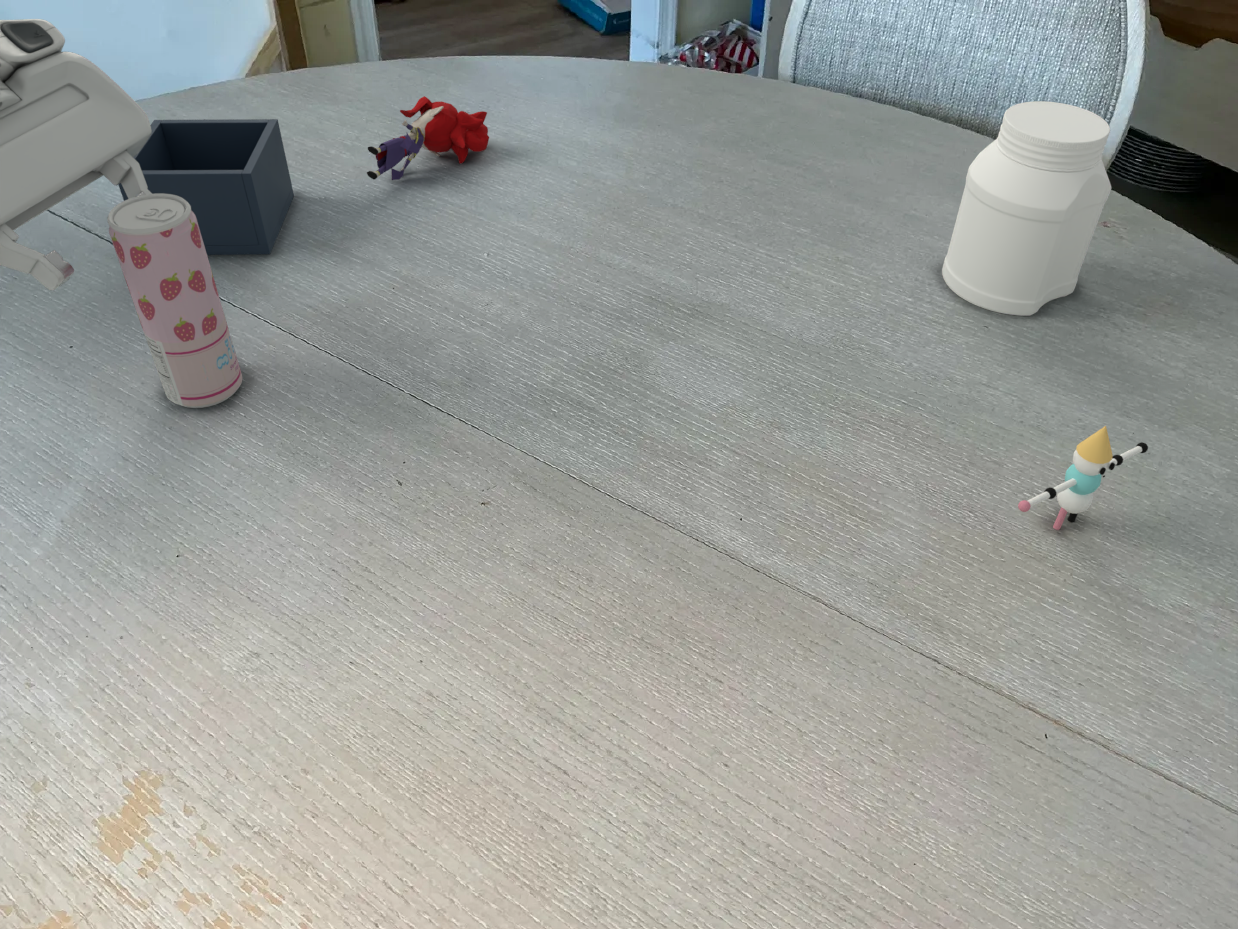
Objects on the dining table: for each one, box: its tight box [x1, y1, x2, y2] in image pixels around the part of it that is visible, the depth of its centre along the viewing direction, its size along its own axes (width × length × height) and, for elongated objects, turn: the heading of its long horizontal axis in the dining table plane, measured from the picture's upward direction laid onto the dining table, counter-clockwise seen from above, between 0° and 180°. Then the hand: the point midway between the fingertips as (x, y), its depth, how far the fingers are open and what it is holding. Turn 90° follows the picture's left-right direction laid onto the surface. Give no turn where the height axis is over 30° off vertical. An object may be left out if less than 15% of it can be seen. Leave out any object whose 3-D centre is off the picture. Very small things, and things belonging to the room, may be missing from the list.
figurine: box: [366, 95, 490, 181], centre depth 105 cm, size 6×8×15 cm
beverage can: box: [106, 193, 243, 409], centre depth 73 cm, size 6×6×15 cm
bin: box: [117, 118, 295, 256], centre depth 95 cm, size 12×12×8 cm
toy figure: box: [1017, 425, 1149, 531], centre depth 66 cm, size 12×2×9 cm, turn 121°
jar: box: [941, 100, 1112, 317], centre depth 87 cm, size 12×10×15 cm
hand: (112, 248), depth 71 cm, fingers open, 8 cm apart
